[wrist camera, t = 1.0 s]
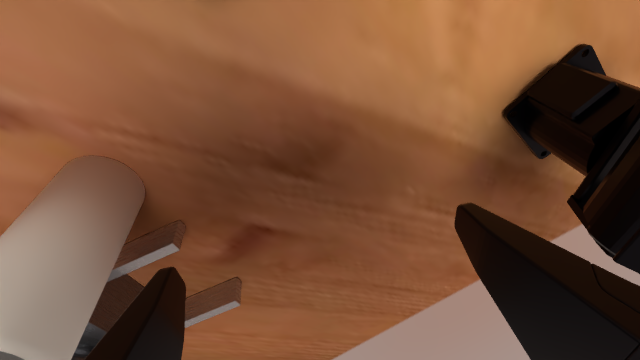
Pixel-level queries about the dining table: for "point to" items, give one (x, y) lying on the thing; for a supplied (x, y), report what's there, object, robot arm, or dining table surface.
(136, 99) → the dining table surface
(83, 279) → the white capped bottle
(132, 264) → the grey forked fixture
